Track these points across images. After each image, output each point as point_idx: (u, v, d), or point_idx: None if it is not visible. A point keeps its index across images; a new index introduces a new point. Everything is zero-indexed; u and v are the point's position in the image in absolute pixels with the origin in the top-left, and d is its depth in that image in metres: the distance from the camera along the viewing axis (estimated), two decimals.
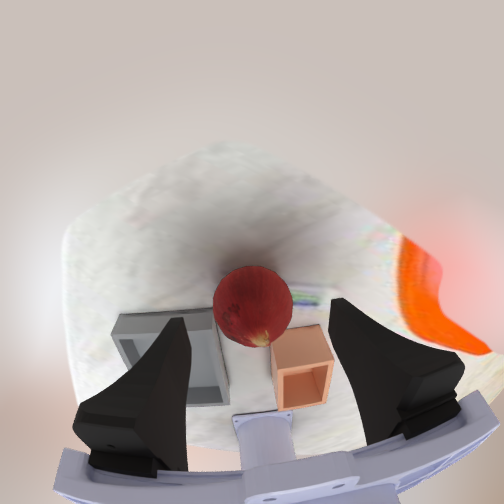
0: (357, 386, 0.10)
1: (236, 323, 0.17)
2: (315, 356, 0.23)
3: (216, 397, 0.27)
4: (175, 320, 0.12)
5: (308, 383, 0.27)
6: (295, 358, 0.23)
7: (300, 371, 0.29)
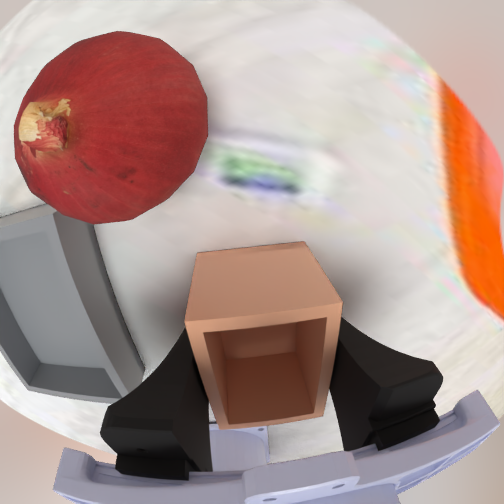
0: (334, 392, 0.10)
1: (19, 110, 0.04)
2: (291, 295, 0.09)
3: (115, 388, 0.13)
4: None
5: (287, 374, 0.14)
6: (238, 298, 0.09)
7: (272, 350, 0.15)
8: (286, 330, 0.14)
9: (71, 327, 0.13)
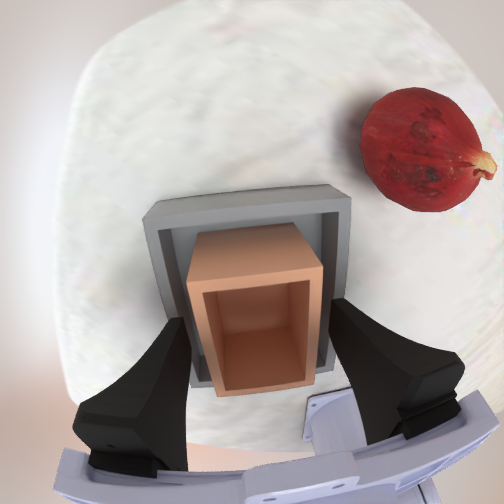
0: (357, 386, 0.10)
1: (444, 134, 0.07)
2: (279, 261, 0.11)
3: None
4: (175, 320, 0.12)
5: (280, 346, 0.15)
6: (233, 264, 0.11)
7: (267, 325, 0.17)
8: (279, 305, 0.16)
9: None
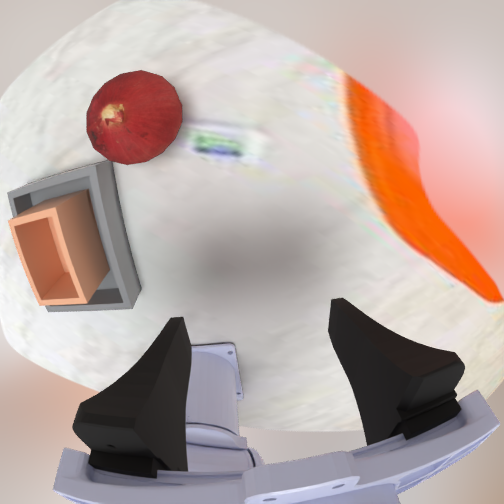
0: (357, 386, 0.10)
1: (94, 106, 0.11)
2: (45, 207, 0.14)
3: (118, 298, 0.21)
4: (175, 320, 0.12)
5: None
6: (30, 211, 0.15)
7: None
8: None
9: None
